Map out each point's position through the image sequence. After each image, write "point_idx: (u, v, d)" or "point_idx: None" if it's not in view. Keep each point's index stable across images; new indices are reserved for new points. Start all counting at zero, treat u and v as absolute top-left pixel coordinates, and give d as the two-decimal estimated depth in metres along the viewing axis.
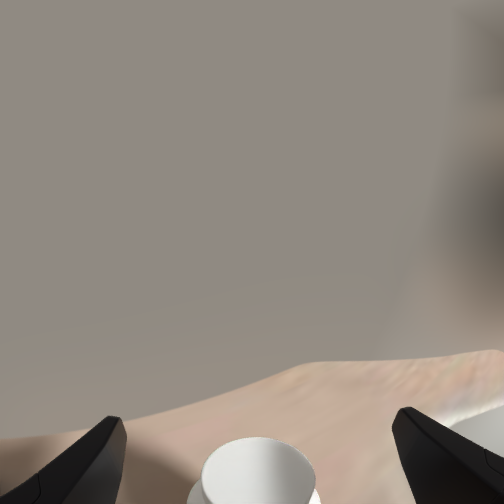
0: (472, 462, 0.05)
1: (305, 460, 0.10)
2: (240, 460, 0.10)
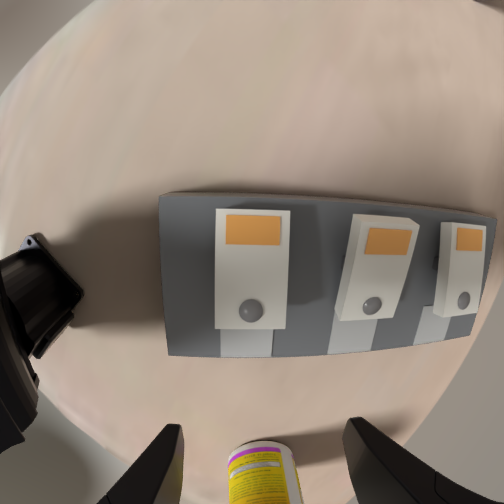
0: (418, 487, 0.05)
1: None
2: None
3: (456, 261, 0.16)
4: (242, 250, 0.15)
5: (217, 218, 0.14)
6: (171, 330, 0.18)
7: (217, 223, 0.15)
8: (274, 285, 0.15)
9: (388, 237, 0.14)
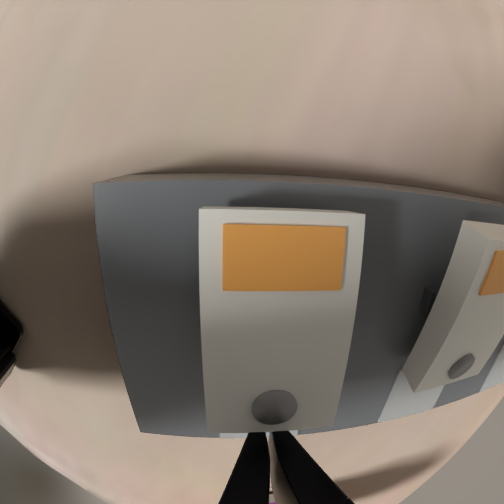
0: None
1: None
2: None
3: None
4: (260, 301, 0.07)
5: (202, 232, 0.06)
6: (139, 404, 0.10)
7: (202, 243, 0.06)
8: (322, 364, 0.07)
9: None
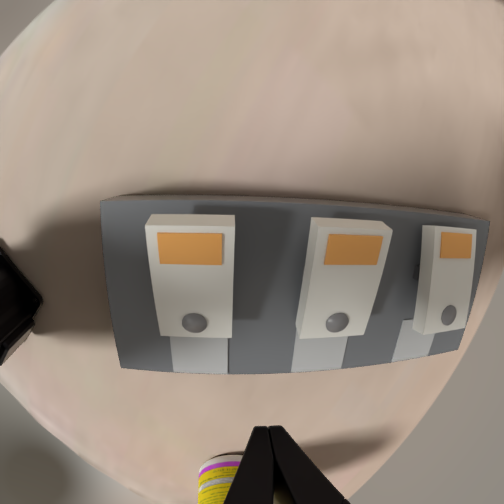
0: None
1: None
2: None
3: (440, 270, 0.14)
4: (180, 268, 0.13)
5: (147, 236, 0.12)
6: (121, 342, 0.16)
7: (148, 241, 0.12)
8: (217, 301, 0.14)
9: (353, 244, 0.13)
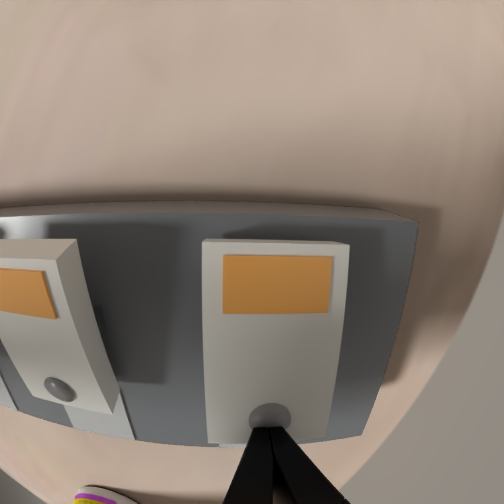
0: None
1: None
2: None
3: (227, 339, 0.07)
4: None
5: None
6: None
7: None
8: None
9: (11, 283, 0.06)
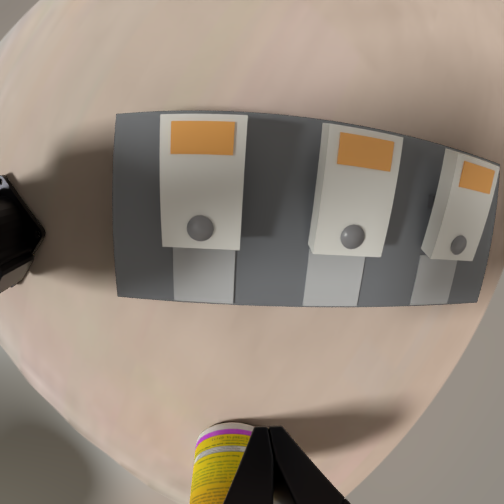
0: None
1: None
2: None
3: (456, 199, 0.13)
4: (190, 160, 0.12)
5: (161, 125, 0.11)
6: (120, 264, 0.15)
7: (161, 130, 0.11)
8: (226, 200, 0.13)
9: (365, 146, 0.12)
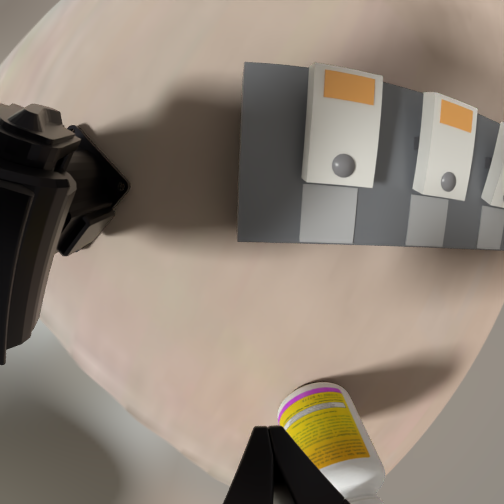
0: None
1: None
2: None
3: None
4: (339, 104, 0.13)
5: (316, 71, 0.12)
6: (245, 206, 0.16)
7: (316, 76, 0.12)
8: (366, 142, 0.14)
9: (456, 112, 0.13)
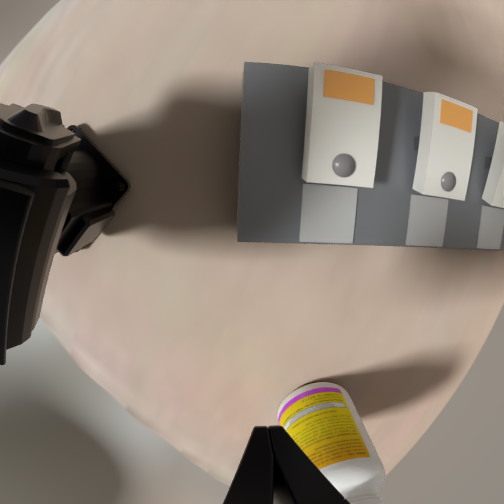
0: None
1: None
2: None
3: None
4: (339, 104, 0.13)
5: (316, 71, 0.12)
6: (245, 206, 0.16)
7: (316, 76, 0.12)
8: (366, 142, 0.14)
9: (456, 112, 0.13)
